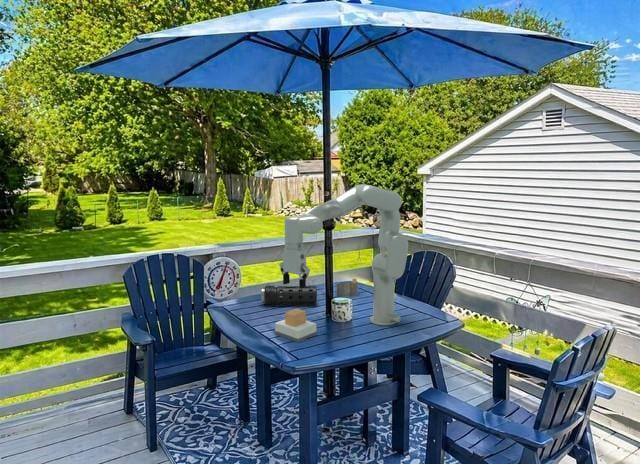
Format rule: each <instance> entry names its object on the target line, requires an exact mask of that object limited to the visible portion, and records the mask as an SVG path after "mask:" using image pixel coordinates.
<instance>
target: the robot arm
mask: <svg viewBox="0 0 640 464" xmlns="http://www.w3.org/2000/svg"><path fill="white" fill-rule="evenodd" d="M402 200H403V199H402V197H401V195H400V194H399V193H398V192H396V191H391V190H387V189H385V188H381V187H378V186H375V185H370V184H362V183H361V184H357V185H354V186H353V187H351V188H350V189H348V190H346V191H345V192H343V193H342V194H339V195H338V196H336V197H334V198H333V199H330V200H328V201H326V202H323V203H321V204H319V205H316V206H314V207H313V208H310V209H309V210H307V211H305V212H304V213H303V214H301V215H300V216H297V215H291V216H287V217H285V219H284V248H283V249H284V250H283V258H282V259H283V260H282V262H280V263H279V264H278V266H279V268H280V272H281V275H282V284H283V286H286V285H288V284H290V283H291V281H290V279H291V278H290V274H294V275H297V276H298V278H299V281H298V283H299V284H298V286H299V288H300V289H302V288H305V287H306V286H307V283H306V282H307V281H306V279H307V278H308V276H309V274H310V272H311V269H310V268H309V267H308V265H307V256H306V252H305V249H304V248H305V245H304V234H306V235H307V234H308V235H316V234H318V233H320V232H321V231H322V230H323V227H324V224H323V222H324V221H325V222H326V220H331V219H337V218H341V217H346V215H348V214H349V213H352V212H353V211H354V210H356V209H358V208H360V207H362V206H363V205H364V206H369V207H372V208H375V209H377V210H378V213H379V214H380V228H379V234H378V240H377V245H378V247H379V248H380V249H381V250H383V251H385V252H387V253H385V252H380V253H377V254H376V255H375V256H374V257H373V258H372V261H371V270H372V271H371V272H372V276H373V277H372V279H373V287H372V288H373V291H372V292H373V293H372V294H373V297H372V298H373V299H372V307H373V309H372V315H371V316H370V317H369V322H370V323H371V324H373V325H377V326H378V325H379V326H392V325H396V324H397V323H400V322H401V319H402V318H401V316H399V315H397V312H396V311H395V290H396V289H395V280H398V279H400V278H401V277H402V276H403V274H404V273H405V269H406V264H407V258H408V253H409V240H408V238H407V237H406V235H404V234H403V233H401V232H400V229H401V228H400V226H401V213H400V208H401V206H402V204H403V203H402V202H403V201H402Z"/></svg>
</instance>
